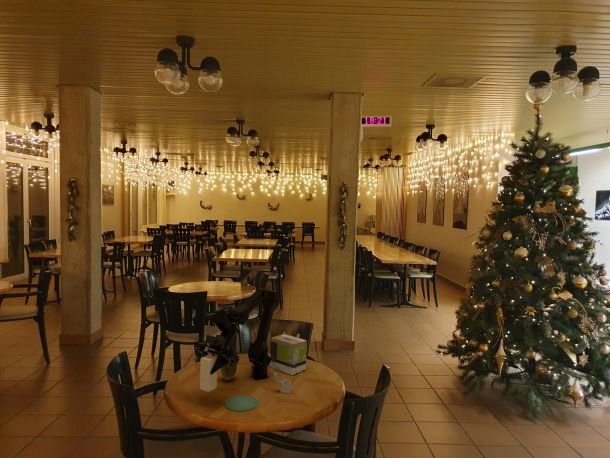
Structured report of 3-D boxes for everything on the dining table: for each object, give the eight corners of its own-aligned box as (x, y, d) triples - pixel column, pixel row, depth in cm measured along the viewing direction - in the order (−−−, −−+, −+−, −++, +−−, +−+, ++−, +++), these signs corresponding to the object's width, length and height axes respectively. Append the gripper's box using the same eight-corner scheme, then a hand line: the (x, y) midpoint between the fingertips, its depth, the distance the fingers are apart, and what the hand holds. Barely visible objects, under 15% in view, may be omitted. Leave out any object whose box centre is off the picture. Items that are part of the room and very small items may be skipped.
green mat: (250, 394, 177) (251, 393, 177) (263, 407, 166) (263, 406, 166) (220, 399, 170) (220, 398, 170) (231, 414, 159) (231, 413, 159)
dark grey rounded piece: (222, 384, 185) (223, 366, 185) (217, 378, 192) (218, 360, 192) (239, 381, 189) (239, 363, 188) (233, 375, 195) (234, 358, 195)
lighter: (290, 391, 181) (291, 372, 180) (290, 393, 179) (291, 374, 179) (273, 390, 181) (274, 371, 181) (273, 392, 179) (274, 373, 179)
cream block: (207, 385, 169) (208, 355, 169) (216, 387, 167) (217, 357, 166) (199, 388, 165) (200, 358, 165) (208, 391, 163) (209, 360, 163)
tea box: (306, 370, 205) (307, 339, 204) (292, 376, 197) (293, 344, 197) (283, 362, 215) (284, 332, 214) (269, 367, 207) (270, 337, 206)
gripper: (199, 322, 173) (177, 357, 164) (235, 330, 164) (214, 367, 155) (212, 336, 180) (192, 371, 171) (247, 345, 171) (228, 382, 162)
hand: (206, 372), depth 165 cm, fingers closed on cream block, 4 cm apart
